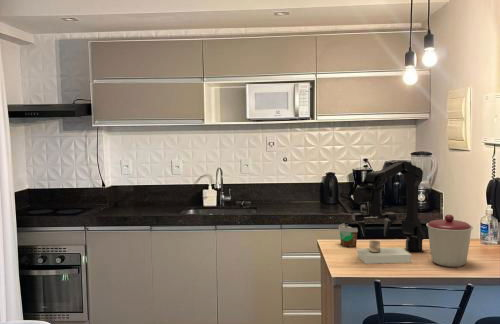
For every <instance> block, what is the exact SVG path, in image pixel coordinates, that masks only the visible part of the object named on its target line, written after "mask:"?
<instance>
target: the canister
mask: <svg viewBox="0 0 500 324" xmlns="http://www.w3.org/2000/svg"><path fill="white" fill-rule="evenodd" d="M425 225H426V227H427V230H428V231H427V232H428V239H429V240H428V243H429V250H430V256H431V260H432V261H433V263H435V264H436V265H439V266H443V267H449V268H451V267H452V268H457V267H458V268H459V267H462V266H464V265H465V264H466V263H467V260H468V254H469V249H470V242H471V241H470V240H471V233H472V230H473V229H474V227H473V225H471V224H469V223H468V222H465V221H462V220H456V219H455V216H454V215H452V214H445V216H444V219H434V220H430V221H429V222H427V223H426V224H425Z"/></svg>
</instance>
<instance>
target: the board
mask: <svg viewBox="0 0 500 324" xmlns="http://www.w3.org/2000/svg"><path fill="white" fill-rule="evenodd" d="M357 257H358V258H359V259H360V260H361V262H363V264H364V265H365V264H366V265H368V264H370V265H373V264H402V263H403V264H405V263H406V264H407V263H409V264H411V263H412V254H411V252H409V251H408V250H406V249H404V248H403V247H380V253H371V252H369V247H368V248H363V247H362V248H357Z"/></svg>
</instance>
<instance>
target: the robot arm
mask: <svg viewBox="0 0 500 324" xmlns="http://www.w3.org/2000/svg"><path fill="white" fill-rule="evenodd" d="M397 174H401V175H403V176H402V177H403V181H404V183H405V185H406V215H405V218H404V219H401V231H402V233H403V236H404V237H405V238H406V239H405V249H404V250H406V251H407V252H408V253H423V252H424V250H423V240H425V239H426V236H427V234H426V232H425V231H424V230H423V229H422V222H421V220H420V219H419V216H418V215H419V187H420V184H421V183H422V182H423V177H424V171H423V170H422V168H421V167H418V166H417V165H414V164H411V163H410V162H408V161H406V160H398V161H396V162H394V163H393V164H391V165H389V166H387V167H385V168H382V169H380V170H373V171H369V172H367V173H366V174H365V178H364V180H363V181H362V183H361V185H360V187H359V186H357V187H355V188H356V190H354V192H353V193H352V198H353V201H354V202H355V203H356V204H360V206H359V208H360V212H353V213H352V215H351V220H353V221H354V222H356V223H357V224H358V225H359V227H360V230H361V233H362V236H363V237H366V222H365V220H377V219H379V220H382V219H383V221H384V222H383V223H384V224H383V226H384V228H383V236H384V237H386V236H387V234H388V232H389V229H390V227H391V226H392V225H393V223H395V221H396V222H397V221H398V219H399V218H398V214H396V213H395V212H393V211H389V212H388V211H387V212H386V211H385V212H384V214H383V213H382V207H383V204H382V191H385V190H386V189H385V187H383V185H384V184H385V183H386V182H387V180H388V179H389V178H391V177H393V176H395V175H397ZM363 203H366V204H363Z"/></svg>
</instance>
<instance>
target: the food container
mask: <svg viewBox="0 0 500 324" xmlns="http://www.w3.org/2000/svg"><path fill="white" fill-rule="evenodd" d="M338 231H339V238H340V240H339V241H340V246H341V247H344V248H350V249H352V248H354V249H355V248H357V240H358V232H359V229H358V227H352V226H348V225H346V224H345V223H341V224H339V225H338Z"/></svg>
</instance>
